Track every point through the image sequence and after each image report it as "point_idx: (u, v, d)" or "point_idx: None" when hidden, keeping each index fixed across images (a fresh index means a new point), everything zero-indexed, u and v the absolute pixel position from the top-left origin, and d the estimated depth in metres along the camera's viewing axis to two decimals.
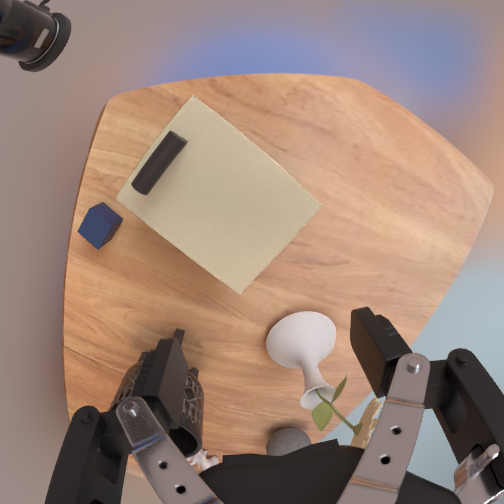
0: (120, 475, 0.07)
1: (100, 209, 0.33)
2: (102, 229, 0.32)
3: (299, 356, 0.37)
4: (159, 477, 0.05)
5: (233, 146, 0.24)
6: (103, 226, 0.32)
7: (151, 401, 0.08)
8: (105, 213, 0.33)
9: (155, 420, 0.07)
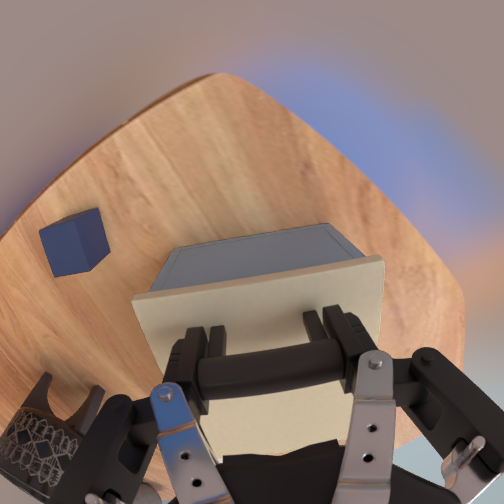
0: (143, 466, 0.07)
1: (88, 225, 0.19)
2: (75, 262, 0.18)
3: None
4: (178, 467, 0.05)
5: None
6: (79, 260, 0.18)
7: (184, 387, 0.09)
8: (92, 236, 0.19)
9: (188, 409, 0.07)
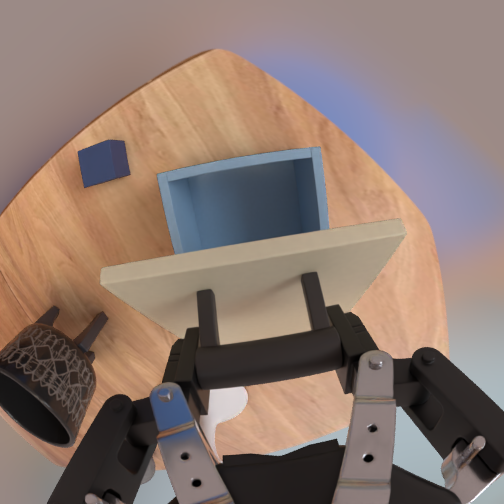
0: (142, 466, 0.07)
1: (117, 148, 0.25)
2: (104, 172, 0.24)
3: None
4: (178, 467, 0.05)
5: (344, 294, 0.15)
6: (108, 170, 0.24)
7: (184, 387, 0.09)
8: (119, 156, 0.25)
9: (187, 409, 0.07)
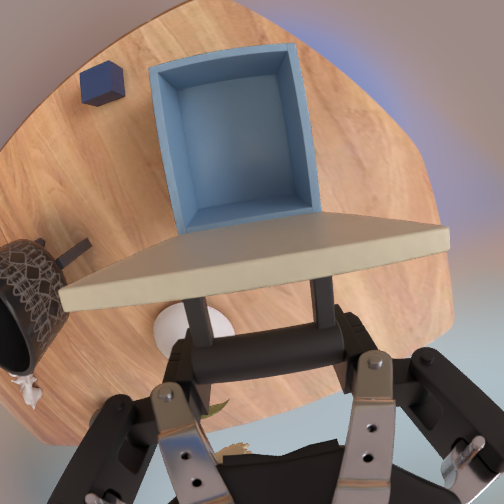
0: (143, 466, 0.07)
1: (115, 70, 0.23)
2: (102, 87, 0.22)
3: None
4: (178, 467, 0.05)
5: None
6: (105, 85, 0.22)
7: (184, 387, 0.09)
8: (116, 77, 0.24)
9: (188, 409, 0.07)
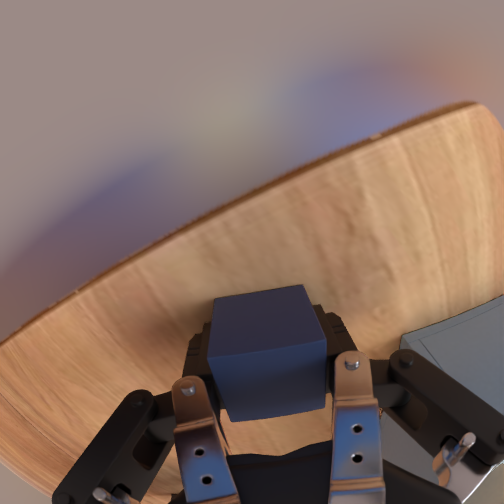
0: (157, 462, 0.07)
1: None
2: (297, 402, 0.10)
3: None
4: (190, 463, 0.05)
5: None
6: (308, 398, 0.10)
7: (205, 380, 0.09)
8: None
9: (208, 405, 0.08)
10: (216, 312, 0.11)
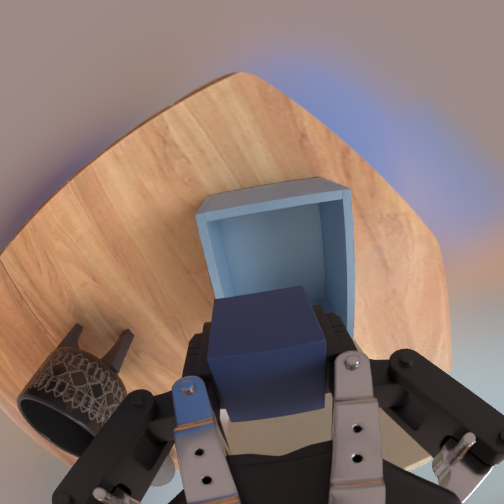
0: (158, 462, 0.07)
1: None
2: (297, 402, 0.10)
3: (227, 421, 0.35)
4: (190, 463, 0.05)
5: None
6: (308, 399, 0.10)
7: (205, 380, 0.09)
8: None
9: (208, 405, 0.08)
10: (216, 313, 0.11)
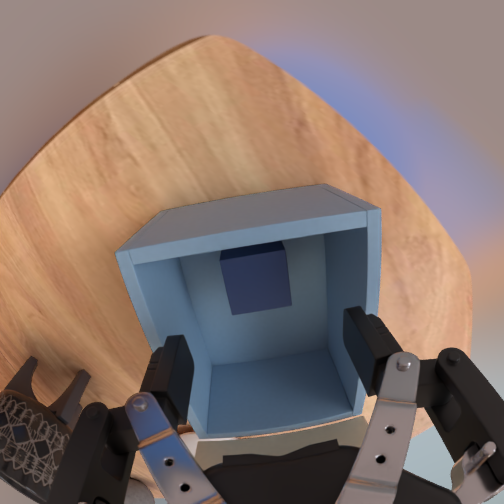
0: (126, 472, 0.07)
1: None
2: (273, 297, 0.18)
3: None
4: (164, 474, 0.05)
5: None
6: (280, 295, 0.18)
7: (160, 397, 0.09)
8: None
9: (164, 417, 0.07)
10: None
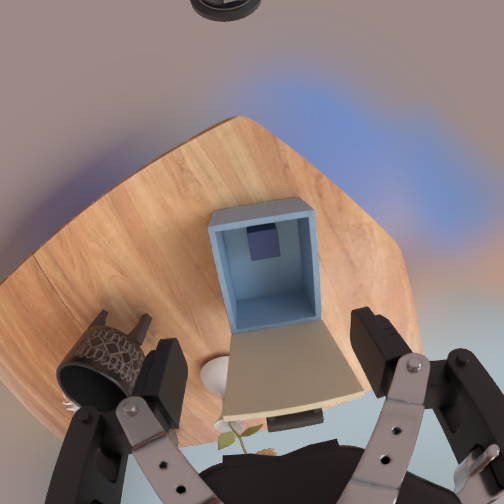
0: (120, 475, 0.07)
1: None
2: (271, 251, 0.38)
3: None
4: (159, 477, 0.05)
5: None
6: (274, 250, 0.38)
7: (151, 401, 0.08)
8: None
9: (155, 420, 0.07)
10: (247, 227, 0.39)
